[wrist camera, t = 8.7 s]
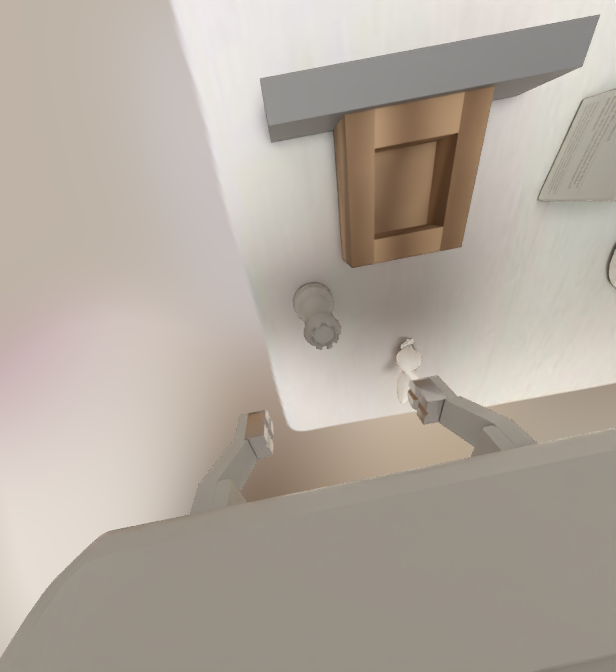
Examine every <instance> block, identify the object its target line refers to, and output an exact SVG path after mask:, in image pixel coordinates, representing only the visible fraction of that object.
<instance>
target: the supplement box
mask: <svg viewBox="0 0 616 672" xmlns="http://www.w3.org/2000/svg"><path fill="white" fill-rule="evenodd" d="M538 199H539V200H540V201H616V89H613V90H610V91H607V92H604V93H601V94H598V95H595V96H592V97H588V98H585V99H584V100H583V102H582V104H581V106H580V108H579V110H578V112H577V115H576V117H575V119H574V121H573V123H572V125H571V127H570V129H569V132H568V134H567V136H566V138H565V140H564V142H563V144H562V147H561V149H560V151H559V153H558V155H557V157H556V160H555V162H554V164H553V166H552V169H551V171H550V173H549V175H548V177H547V180H546V182H545V184H544V186H543V188H542V190H541V193H540V195H539V198H538Z"/></svg>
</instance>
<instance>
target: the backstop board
mask: <svg viewBox="0 0 616 672" xmlns="http://www.w3.org/2000/svg"><path fill="white" fill-rule="evenodd" d="M599 17H600V15H595V16H589V17H584V18H579V19H573V20H568V21H563V22H557V23H552V24H547V25H541V26H536V27H531V28H526V29H520V30H515V31H510V32H504V33H499V34H494V35H488V36H483V37H478V38H472V39H467V40H462V41H456V42H451V43H446V44H441V45H435V46H430V47H425V48H419V49H414V50H409V51H403V52H398V53H393V54H387V55H382V56H377V57H372V58H366V59H361V60H356V61H350V62H345V63H340V64H334V65H329V66H324V67H318V68H313V69H308V70H302V71H297V72H292V73H287V74H281V75H276V76H271V77H265V78H260V83H261V89H262V95H263V101H264V107H265V112H266V117H267V122H268V128H269V133H270V138H271V142H276V141H282V140H287V139H292V138H298V137H303V136H308V135H313V134H319V133H324V132H329V131H334V129H335V127H336V126H337V124H338V123H339V122H340V120H341V119H342V118H343V116H344V115H345V114H350V113H356V112H361V111H366V110H372V109H377V108H382V107H387V106H393V105H398V104H403V103H409V102H414V101H419V100H424V99H430V98H435V97H440V96H445V95H451V94H456V93H461V92H467V91H472V90H477V89H482V88H488V87H493V86H495V88H494V93H493V98H492V100H498V99H503V98H508V97H513V96H517V95H519V94H522V93H524V92H526V91H528V90H531V89H533V88H535V87H537V86H540V85H542V84H544V83H546V82H548V81H551V80H553V79H555V78H557V77H560V76H562V75H564V74H566V73H568V72H571V71H573V70H575V69H577V68H580V67H582V66H583V63H584V60H585V57H586V54H587V51H588V48H589V45H590V42H591V40H592V37H593V34H594V31H595V28H596V25H597V22H598V19H599Z"/></svg>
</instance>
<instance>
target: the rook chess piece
mask: <svg viewBox="0 0 616 672" xmlns="http://www.w3.org/2000/svg"><path fill="white" fill-rule="evenodd" d="M293 303H294V309H295V312H296V313H297V315H298V317H299V318H300V319H302V320H303V321H305V329H304V337H305V339H306V340H307V342H308V343H310V344H311V345H313V346H316V349H320V350H322V347H325V346H326V347H327V349H329V348H331V347H332V344H333V343H334V342H335V343H337V341H338V339H339V335H340V333H341V326H340V324H339V322H338V320H337V319H335V318H334V317H333V315H332V314H331V312H332V309H333V298H332V295H331V293H330V291H329V289H327V288H326V287H325V286H324V285H322V284H318V283H308V284H306V285H304V286H302V287H301V288H300V289H299V290H298V291H297V292H296V293H295V296H294V299H293Z"/></svg>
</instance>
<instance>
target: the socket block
mask: <svg viewBox="0 0 616 672" xmlns="http://www.w3.org/2000/svg"><path fill="white" fill-rule="evenodd" d="M494 88H495V86H493V87H488V88H482V89H477V90H472V91H467V92H461V93H456V94H451V95H445V96H440V97H435V98H430V99H424V100H419V101H414V102H409V103H403V104H398V105H393V106H387V107H382V108H377V109H372V110H366V111H361V112H356V113H350V114H345V115H344V116H343V118H342V119H341V120H340V122H339V123H338V124H337V126H336V127H335V129H334V142H335V156H336V170H337V184H338V198H339V212H340V226H341V240H342V254H343V260H344V261H345V262H346V263H347V264H349V265H350V266H351V267H352V268H355V267H360V266H365V265H371V264H376V263H381V262H386V261H391V260H396V259H402V258H407V257H412V256H417V255H422V254H427V253H433V252H438V251H443V250H448V249H453V248H458V247H461V246H462V241H463V236H464V232H465V227H466V222H467V217H468V212H469V208H470V203H471V198H472V193H473V189H474V184H475V179H476V174H477V169H478V165H479V160H480V155H481V150H482V146H483V141H484V136H485V131H486V127H487V122H488V117H489V112H490V107H491V103H492V98H493V93H494Z"/></svg>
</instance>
